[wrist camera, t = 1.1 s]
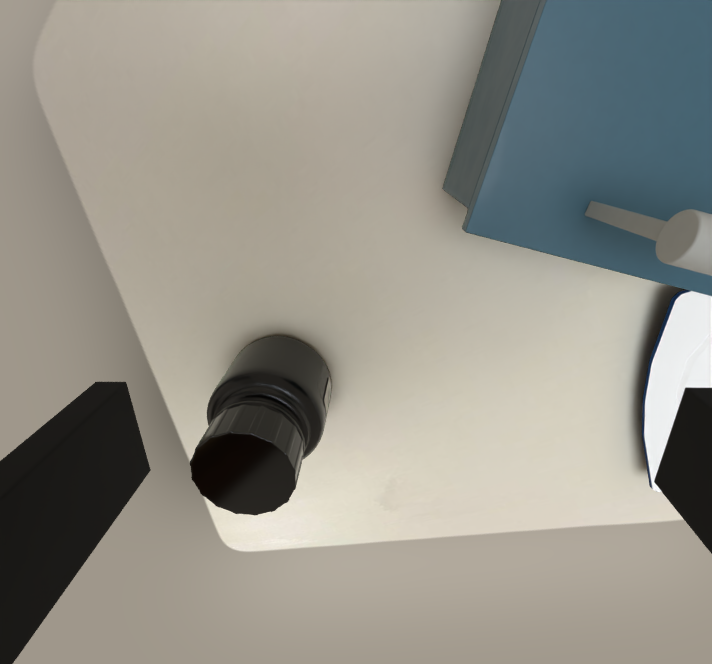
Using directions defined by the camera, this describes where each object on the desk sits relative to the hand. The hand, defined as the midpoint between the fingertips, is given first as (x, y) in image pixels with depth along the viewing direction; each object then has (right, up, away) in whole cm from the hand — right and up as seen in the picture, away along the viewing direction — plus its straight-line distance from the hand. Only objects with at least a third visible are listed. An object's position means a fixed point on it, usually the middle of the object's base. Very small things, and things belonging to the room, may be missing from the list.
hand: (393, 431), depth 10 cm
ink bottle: (-7, -2, +28) cm, 29 cm away
